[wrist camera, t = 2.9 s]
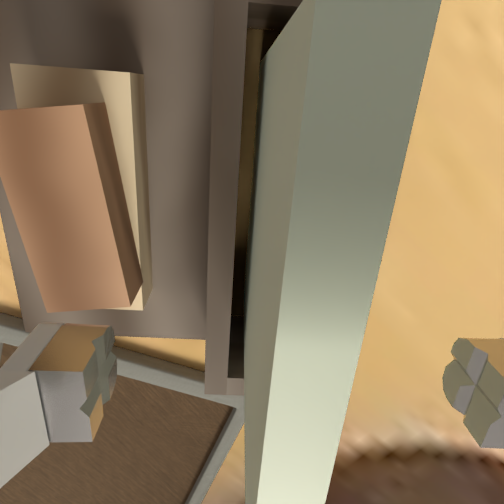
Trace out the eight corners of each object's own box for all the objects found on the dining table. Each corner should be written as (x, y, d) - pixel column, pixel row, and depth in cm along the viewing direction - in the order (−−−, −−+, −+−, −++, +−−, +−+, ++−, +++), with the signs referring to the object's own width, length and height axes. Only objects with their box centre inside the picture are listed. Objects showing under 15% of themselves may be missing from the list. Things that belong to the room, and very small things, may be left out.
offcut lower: (143, 74, 18) (129, 72, 16) (152, 288, 23) (142, 310, 21) (39, 66, 18) (9, 63, 16) (70, 284, 23) (51, 306, 20)
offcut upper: (105, 102, 16) (82, 104, 14) (143, 281, 20) (130, 306, 18) (15, 109, 16) (-22, 112, 14) (69, 287, 20) (47, 312, 18)
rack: (336, 7, 18) (377, -28, 13) (292, 332, 26) (305, 397, 21) (-33, -26, 17) (-160, -79, 12) (34, 321, 25) (-23, 386, 20)
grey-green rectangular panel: (290, 65, 19) (443, -12, 5) (267, 297, 25) (303, 595, 10) (259, 63, 19) (318, -22, 5) (243, 296, 25) (246, 594, 10)
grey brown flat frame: (258, 398, 27) (147, 605, 38) (257, 382, 29) (150, 586, 39) (-18, 319, 24) (-53, 571, 35) (-3, 305, 25) (-41, 551, 36)
